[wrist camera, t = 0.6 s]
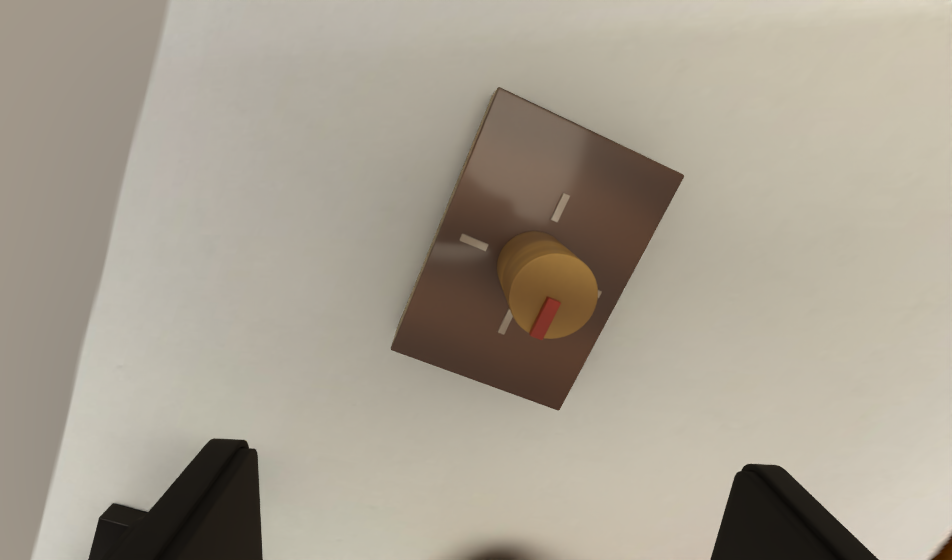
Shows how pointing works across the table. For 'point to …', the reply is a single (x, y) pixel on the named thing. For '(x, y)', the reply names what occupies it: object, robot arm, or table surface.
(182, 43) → the table surface
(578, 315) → the dial knob
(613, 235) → the brown dial base
